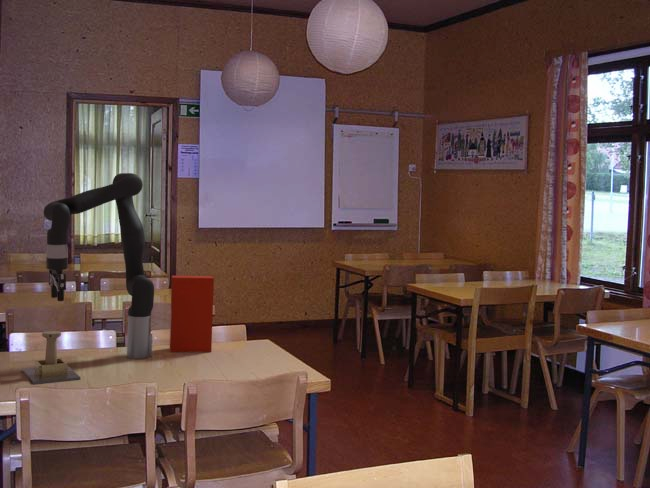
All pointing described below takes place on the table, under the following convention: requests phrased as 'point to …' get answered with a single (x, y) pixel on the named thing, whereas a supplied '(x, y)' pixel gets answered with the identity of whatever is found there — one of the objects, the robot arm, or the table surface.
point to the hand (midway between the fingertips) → (57, 299)
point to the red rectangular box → (191, 313)
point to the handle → (51, 346)
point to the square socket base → (50, 372)
